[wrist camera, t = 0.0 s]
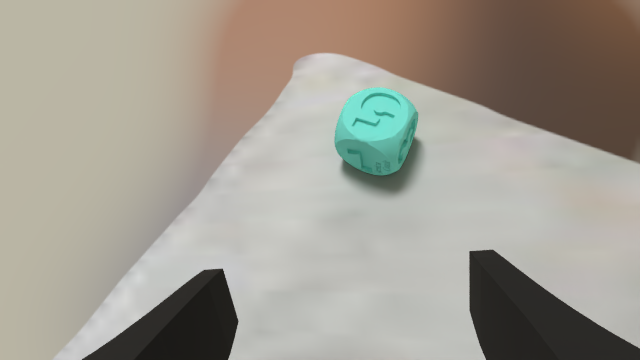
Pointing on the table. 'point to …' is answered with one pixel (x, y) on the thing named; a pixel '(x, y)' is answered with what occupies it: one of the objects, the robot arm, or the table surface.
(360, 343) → the table surface
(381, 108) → the decorative dice
